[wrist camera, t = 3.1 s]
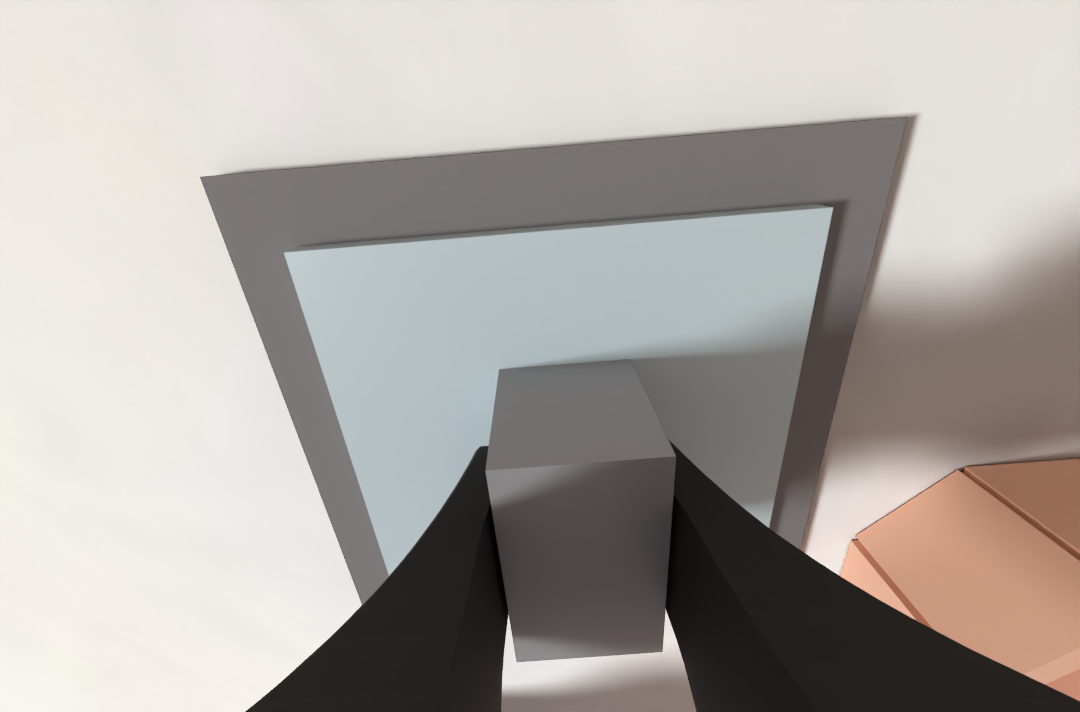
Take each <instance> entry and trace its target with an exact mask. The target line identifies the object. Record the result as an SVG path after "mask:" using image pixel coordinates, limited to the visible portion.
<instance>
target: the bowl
mask: <svg viewBox="0 0 1080 712" xmlns="http://www.w3.org/2000/svg"><path fill="white" fill-rule="evenodd" d="M855 537H856V538H857V539H858V540H851V542H850V545H849V549H848V552H847V555H846V558H845V561H844V565H843V568H842V571H841V574H840V576H841V577H842V578H844V579H845V580H847V581H849V582H850V583H852V584H854V585H855V586H857V587H859V588H860V589H862V590H864V591H865V592H867V593H869V594H870V595H872V596H874V597H875V598H877V599H879V600H880V601H882V602H884V603H886V604H888V605H889V606H891V607H893V608H895V609H896V610H898V611H900V612H902V613H904V614H905V615H907V616H909V617H911V618H913V619H914V620H916V621H918V622H920V623H922V624H924V625H926V626H928V627H930V628H931V629H933V630H935V631H937V632H939V633H941V634H943V635H945V636H947V637H948V638H950V639H952V640H954V641H956V642H958V643H960V644H962V645H964V646H966V647H968V648H970V649H972V650H974V651H975V652H978V653H980V654H982V655H984V656H986V657H988V658H990V659H992V660H994V661H996V662H999V663H1001V664H1003V665H1005V666H1007V667H1009V668H1011V669H1013V670H1015V671H1018V672H1020V673H1022V674H1024V675H1026V676H1028V677H1030V678H1032V679H1034V680H1036V681H1039V682H1041V683H1043V684H1045V685H1047V686H1049V687H1051V688H1053V689H1055V690H1057V691H1060V692H1062V693H1064V694H1066V695H1068V696H1070V697H1072V698H1074V699H1076V700H1078V701H1080V458H1079V459H1065V460H1052V461H1039V462H1025V463H1012V464H998V465H985V466H972V467H965V469H964V471H963V473H961V472H960V471H959V470H956V471H955V472H953V473H952V474H950V475H949V476H947V477H945V478H944V479H942V480H941V481H939V482H938V483H936V484H935V485H933V486H932V487H930V488H928V489H927V490H925V491H924V492H922V493H921V494H919V495H918V496H916V497H915V498H913V499H911V500H910V501H908V502H907V503H905V504H904V505H902V506H901V507H899V508H898V509H896V510H894V511H893V512H891V513H890V514H888V515H887V516H885V517H884V518H882V519H880V520H879V521H877V522H876V523H874V524H873V525H871V526H870V527H868V528H867V529H865V530H863V531H862V532H860V533H859V534H857V535H856V536H855Z"/></svg>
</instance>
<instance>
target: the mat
mask: <svg viewBox="0 0 1080 712" xmlns="http://www.w3.org/2000/svg"><path fill="white" fill-rule="evenodd" d="M906 121H907V117H901V118H889V119H877V120H866V121H854V122H842V123H830V124H818V125H806V126H795V127H783V128H771V129H759V130H747V131H736V132H724V133H712V134H700V135H688V136H677V137H665V138H653V139H641V140H629V141H617V142H606V143H594V144H582V145H570V146H558V147H547V148H535V149H523V150H511V151H499V152H488V153H476V154H464V155H452V156H440V157H428V158H417V159H405V160H393V161H381V162H369V163H358V164H346V165H334V166H322V167H310V168H299V169H287V170H275V171H263V172H251V173H239V174H228V175H216V176H205V177H200V178H201V181H202V184H203V186H204V189H205V192H206V194H207V197H208V199H209V202H210V205H211V207H212V210H213V213H214V215H215V218H216V221H217V223H218V226H219V228H220V231H221V234H222V236H223V239H224V242H225V244H226V247H227V250H228V252H229V255H230V257H231V260H232V263H233V265H234V268H235V271H236V273H237V276H238V279H239V281H240V284H241V286H242V289H243V292H244V294H245V297H246V300H247V302H248V305H249V308H250V310H251V313H252V315H253V318H254V321H255V323H256V326H257V329H258V331H259V334H260V337H261V339H262V342H263V344H264V347H265V350H266V352H267V355H268V358H269V360H270V363H271V366H272V368H273V371H274V373H275V376H276V379H277V381H278V384H279V387H280V389H281V392H282V395H283V397H284V400H285V402H286V405H287V408H288V410H289V413H290V416H291V418H292V421H293V424H294V426H295V429H296V431H297V434H298V437H299V439H300V442H301V445H302V447H303V450H304V453H305V455H306V458H307V460H308V463H309V466H310V468H311V471H312V474H313V476H314V479H315V482H316V484H317V487H318V489H319V492H320V495H321V497H322V500H323V503H324V505H325V508H326V511H327V513H328V516H329V518H330V521H331V524H332V526H333V529H334V532H335V534H336V537H337V540H338V542H339V545H340V547H341V550H342V553H343V555H344V558H345V561H346V563H347V566H348V569H349V571H350V574H351V576H352V579H353V582H354V584H355V587H356V590H357V592H358V595H359V598H360V600H361V603H362V605H363V604H364V603H365V602H366V601H367V600H368V598H369V597H370V596H371V595H372V594H373V593H374V592H375V591H376V590H377V589H378V588H379V587H380V586H381V585H382V583H383V582H384V581H385V580H386V579H387V578H388V576H389V574H388V571H387V568H386V565H385V562H384V559H383V556H382V553H381V550H380V547H379V544H378V541H377V538H376V535H375V531H374V528H373V525H372V522H371V519H370V516H369V513H368V510H367V507H366V504H365V501H364V498H363V495H362V492H361V488H360V485H359V482H358V479H357V476H356V473H355V470H354V467H353V464H352V461H351V458H350V455H349V452H348V449H347V445H346V442H345V439H344V436H343V433H342V430H341V427H340V424H339V421H338V418H337V415H336V412H335V409H334V406H333V402H332V399H331V396H330V393H329V390H328V387H327V384H326V381H325V378H324V375H323V372H322V369H321V366H320V363H319V360H318V356H317V353H316V350H315V347H314V344H313V341H312V338H311V335H310V332H309V329H308V326H307V323H306V320H305V317H304V313H303V310H302V307H301V304H300V301H299V298H298V295H297V292H296V289H295V286H294V283H293V280H292V277H291V274H290V270H289V267H288V264H287V261H286V258H285V255H284V252H286V251H289V250H291V249H293V248H296V247H299V246H311V245H323V244H335V243H347V242H359V241H371V240H384V239H396V238H408V237H420V236H432V235H444V234H456V233H468V232H481V231H493V230H505V229H517V228H529V227H541V226H553V225H565V224H578V223H590V222H602V221H614V220H626V219H638V218H650V217H662V216H675V215H687V214H699V213H711V212H723V211H735V210H747V209H760V208H772V207H784V206H796V205H808V204H819V205H824V206H829V207H833V211H832V216H831V221H830V226H829V231H828V236H827V241H826V246H825V251H824V256H823V261H822V266H821V271H820V276H819V281H818V286H817V291H816V296H815V301H814V306H813V311H812V316H811V321H810V326H809V331H808V336H807V341H806V346H805V351H804V356H803V361H802V366H801V371H800V376H799V381H798V386H797V391H796V396H795V401H794V406H793V411H792V416H791V421H790V426H789V431H788V436H787V441H786V446H785V451H784V456H783V461H782V466H781V470H780V475H779V480H778V485H777V490H776V495H775V500H774V505H773V510H772V515H771V520H770V525H769V528H770V529H771V530H772V531H774V532H775V533H776V534H778V535H779V536H781V537H782V538H783V539H785V540H786V541H788V542H789V543H791V544H792V545H794V546H795V547H796V548H798V549H799V550H800V547H801V543H802V539H803V535H804V531H805V527H806V523H807V519H808V515H809V511H810V507H811V503H812V499H813V495H814V491H815V487H816V483H817V479H818V475H819V471H820V466H821V462H822V458H823V454H824V450H825V446H826V442H827V438H828V434H829V430H830V426H831V422H832V418H833V414H834V410H835V406H836V402H837V398H838V394H839V390H840V386H841V382H842V378H843V374H844V370H845V366H846V362H847V358H848V354H849V350H850V346H851V342H852V338H853V334H854V330H855V326H856V322H857V318H858V314H859V310H860V306H861V302H862V298H863V294H864V290H865V286H866V282H867V278H868V274H869V269H870V265H871V261H872V257H873V253H874V249H875V245H876V241H877V237H878V233H879V229H880V225H881V221H882V217H883V213H884V209H885V205H886V201H887V197H888V193H889V189H890V185H891V181H892V177H893V173H894V169H895V165H896V161H897V157H898V153H899V149H900V145H901V141H902V137H903V133H904V129H905V125H906ZM508 615H509V612H508Z"/></svg>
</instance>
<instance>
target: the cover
mask: <svg viewBox="0 0 1080 712" xmlns="http://www.w3.org/2000/svg"><path fill="white" fill-rule="evenodd" d="M832 211H833V207H829V206H824V205H819V204H808V205H796V206H784V207H772V208H760V209H747V210H735V211H723V212H711V213H699V214H687V215H675V216H662V217H650V218H638V219H626V220H614V221H602V222H590V223H578V224H565V225H553V226H541V227H529V228H517V229H505V230H493V231H481V232H468V233H456V234H444V235H432V236H420V237H408V238H396V239H384V240H371V241H359V242H347V243H335V244H323V245H311V246H299V247H296V248H293V249H291V250H289V251H286V252H284V255H285V258H286V261H287V264H288V267H289V270H290V274H291V277H292V280H293V283H294V286H295V289H296V292H297V295H298V298H299V301H300V304H301V307H302V310H303V313H304V317H305V320H306V323H307V326H308V329H309V332H310V335H311V338H312V341H313V344H314V347H315V350H316V353H317V356H318V360H319V363H320V366H321V369H322V372H323V375H324V378H325V381H326V384H327V387H328V390H329V393H330V396H331V399H332V402H333V406H334V409H335V412H336V415H337V418H338V421H339V424H340V427H341V430H342V433H343V436H344V439H345V442H346V445H347V449H348V452H349V455H350V458H351V461H352V464H353V467H354V470H355V473H356V476H357V479H358V482H359V485H360V488H361V492H362V495H363V498H364V501H365V504H366V507H367V510H368V513H369V516H370V519H371V522H372V525H373V528H374V531H375V535H376V538H377V541H378V544H379V547H380V550H381V553H382V556H383V559H384V562H385V565H386V568H387V571H388V574H389V575H390V574H391V573H392V572H393V571H394V570H395V568H396V567H397V566H398V565H399V564H400V562H401V561H402V560H403V559H404V558H405V556H406V555H407V554H408V553H409V551H410V550H411V549H412V548H413V546H414V545H415V544H416V542H417V541H418V540H419V538H420V537H421V536H422V534H423V533H424V532H425V530H426V529H427V528H428V526H429V525H430V523H431V522H432V521H433V519H434V518H435V517H436V515H437V514H438V512H439V511H440V509H441V508H442V506H443V505H444V503H445V502H446V500H447V499H448V497H449V496H450V494H451V493H452V491H453V490H454V488H455V486H456V485H457V483H458V481H459V480H460V478H461V477H462V475H463V473H464V471H465V470H466V468H467V466H468V464H469V463H470V461H471V459H472V457H473V455H474V453H475V451H476V450H477V449H478V448H479V447H480V446H489V447H488V454H487V462H486V469H485V472H486V478H487V484H488V490H489V496H490V502H491V508H492V515H493V521H494V527H495V533H496V539H497V545H498V551H499V557H500V563H501V569H502V575H503V582H504V588H505V594H506V600H507V606H508V612H509V618H510V624H511V630H512V636H513V642H514V648H515V655H516V661H517V662H525V661H539V660H554V659H568V658H582V657H596V656H610V655H625V654H639V653H653V652H662V650H663V636H664V622H665V607H666V593H667V579H668V565H669V550H670V536H671V522H672V508H673V494H674V479H675V465H676V455H675V453H674V451H673V449H672V447H671V444H670V442H669V440H670V441H671V442H672V443H673V444H674V445H675V446H676V447H677V448H678V449H679V450H680V451H681V452H682V453H683V454H684V455H685V456H686V457H687V458H688V459H689V460H690V461H691V462H692V463H693V464H695V465H696V466H697V467H698V468H699V469H700V470H701V471H702V472H703V473H704V474H705V475H706V476H707V477H708V478H710V479H711V480H712V481H713V482H714V483H715V484H716V485H717V486H719V487H720V488H721V489H722V490H723V491H724V492H725V493H726V494H728V495H729V496H730V497H731V498H732V499H733V500H735V501H736V502H737V503H738V504H739V505H741V506H742V507H743V508H744V509H745V510H747V511H748V512H749V513H750V514H752V515H753V516H754V517H755V518H757V519H758V520H759V521H761V522H762V523H763V524H764V525H766V526H767V527H768V528H769V525H770V520H771V515H772V510H773V505H774V500H775V495H776V490H777V485H778V480H779V475H780V470H781V466H782V461H783V456H784V451H785V446H786V441H787V436H788V431H789V426H790V421H791V416H792V411H793V406H794V401H795V396H796V391H797V386H798V381H799V376H800V371H801V366H802V361H803V356H804V351H805V346H806V341H807V336H808V331H809V326H810V321H811V316H812V311H813V306H814V301H815V296H816V291H817V286H818V281H819V276H820V271H821V266H822V261H823V256H824V251H825V246H826V241H827V236H828V231H829V226H830V221H831V216H832ZM668 439H669V440H668Z"/></svg>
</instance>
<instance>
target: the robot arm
mask: <svg viewBox="0 0 1080 712" xmlns="http://www.w3.org/2000/svg"><path fill="white" fill-rule="evenodd" d="M668 440H669V439H668ZM669 442H670V444H671V447H672V449H673V451H674V453H675V455H676V465H675V479H674V494H673V508H672V522H671V536H670V550H669V565H668V579H667V593H666V607H665V608H666V611H667V613H668V616H669V619H670V622H671V625H672V628H673V630H674V633H675V636H676V639H677V642H678V645H679V648H680V652H681V655H682V658H683V661H684V664H685V668H686V672H687V676H688V680H689V684H690V688H691V691H692V695H693V699H694V703H695V707H696V711H697V712H1080V701H1078V700H1076V699H1074V698H1072V697H1070V696H1068V695H1066V694H1064V693H1062V692H1060V691H1057V690H1055V689H1053V688H1051V687H1049V686H1047V685H1045V684H1043V683H1041V682H1039V681H1036V680H1034V679H1032V678H1030V677H1028V676H1026V675H1024V674H1022V673H1020V672H1018V671H1015V670H1013V669H1011V668H1009V667H1007V666H1005V665H1003V664H1001V663H999V662H996V661H994V660H992V659H990V658H988V657H986V656H984V655H982V654H980V653H978V652H975V651H974V650H972V649H970V648H968V647H966V646H964V645H962V644H960V643H958V642H956V641H954V640H952V639H950V638H948V637H947V636H945V635H943V634H941V633H939V632H937V631H935V630H933V629H931V628H930V627H928V626H926V625H924V624H922V623H920V622H918V621H916V620H914V619H913V618H911V617H909V616H907V615H905V614H904V613H902V612H900V611H898V610H896V609H895V608H893V607H891V606H889V605H888V604H886V603H884V602H882V601H880V600H879V599H877V598H875V597H874V596H872V595H870V594H869V593H867V592H865V591H864V590H862V589H860V588H859V587H857V586H855V585H854V584H852V583H850V582H849V581H847V580H845V579H844V578H842V577H841V576H839V575H837V574H836V573H834V572H832V571H831V570H829V569H828V568H826V567H825V566H823V565H822V564H820V563H818V562H817V561H815V560H814V559H812V558H811V557H809V556H808V555H807V554H805V553H804V552H802V551H801V550H799V549H798V548H796V547H795V546H794V545H792V544H791V543H789V542H788V541H786V540H785V539H783V538H782V537H781V536H779V535H778V534H776V533H775V532H774V531H772V530H771V529H770V528H768V527H767V526H766V525H764V524H763V523H762V522H761V521H759V520H758V519H757V518H755V517H754V516H753V515H752V514H750V513H749V512H748V511H747V510H745V509H744V508H743V507H742V506H741V505H739V504H738V503H737V502H736V501H735V500H733V499H732V498H731V497H730V496H729V495H728V494H726V493H725V492H724V491H723V490H722V489H721V488H720V487H719V486H717V485H716V484H715V483H714V482H713V481H712V480H711V479H710V478H708V477H707V476H706V475H705V474H704V473H703V472H702V471H701V470H700V469H699V468H698V467H697V466H696V465H695V464H693V463H692V462H691V461H690V460H689V459H688V458H687V457H686V456H685V455H684V454H683V453H682V452H681V451H680V450H679V449H678V448H677V447H676V446H675V445H674V444H673V443H672V442H671V441H670V440H669ZM488 447H489V446H480V447H479V448H478V449H477V450H476V451H475V453H474V455H473V457H472V459H471V461H470V463H469V464H468V466H467V468H466V470H465V471H464V473H463V475H462V477H461V478H460V480H459V481H458V483H457V485H456V486H455V488H454V490H453V491H452V493H451V494H450V496H449V497H448V499H447V500H446V502H445V503H444V505H443V506H442V508H441V509H440V511H439V512H438V514H437V515H436V517H435V518H434V519H433V521H432V522H431V523H430V525H429V526H428V528H427V529H426V530H425V532H424V533H423V534H422V536H421V537H420V538H419V540H418V541H417V542H416V544H415V545H414V546H413V548H412V549H411V550H410V551H409V553H408V554H407V555H406V556H405V558H404V559H403V560H402V561H401V562H400V564H399V565H398V566H397V567H396V568H395V570H394V571H393V572H392V573H391V574H390V575H389V576H388V578H387V579H386V580H385V581H384V582H383V583H382V585H381V586H380V587H379V588H378V589H377V590H376V591H375V592H374V593H373V594H372V595H371V596H370V597H369V598H368V600H367V601H366V602H365V603H364V604H363V605H362V606H361V607H360V608H359V609H358V610H357V611H356V612H355V613H354V614H353V615H352V616H351V617H350V618H349V619H348V620H347V621H346V622H345V623H344V624H343V625H342V626H341V627H340V628H339V629H338V630H337V631H336V632H335V633H334V634H333V635H332V636H331V637H330V638H329V639H328V640H327V641H326V642H325V643H324V644H323V645H321V646H320V647H319V648H318V649H317V650H316V651H315V652H314V653H313V654H312V655H310V656H309V657H308V658H307V659H306V660H305V661H304V662H303V663H302V664H301V665H299V666H298V667H297V668H296V669H295V670H294V671H293V672H292V673H291V674H290V675H289V676H287V677H286V678H285V679H284V680H283V681H282V682H281V683H279V684H278V685H277V686H276V687H275V688H274V689H272V690H271V691H270V692H269V693H268V694H267V695H265V696H264V697H263V698H262V699H261V700H259V701H258V702H257V703H256V704H254V705H253V706H252V707H251V708H249V709H248V710H247V711H246V712H501V693H502V670H503V656H504V646H505V637H506V628H507V619H508V606H507V600H506V594H505V588H504V582H503V575H502V569H501V563H500V557H499V551H498V545H497V539H496V533H495V527H494V521H493V515H492V508H491V502H490V496H489V490H488V484H487V478H486V472H485V469H486V462H487V454H488Z"/></svg>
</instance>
